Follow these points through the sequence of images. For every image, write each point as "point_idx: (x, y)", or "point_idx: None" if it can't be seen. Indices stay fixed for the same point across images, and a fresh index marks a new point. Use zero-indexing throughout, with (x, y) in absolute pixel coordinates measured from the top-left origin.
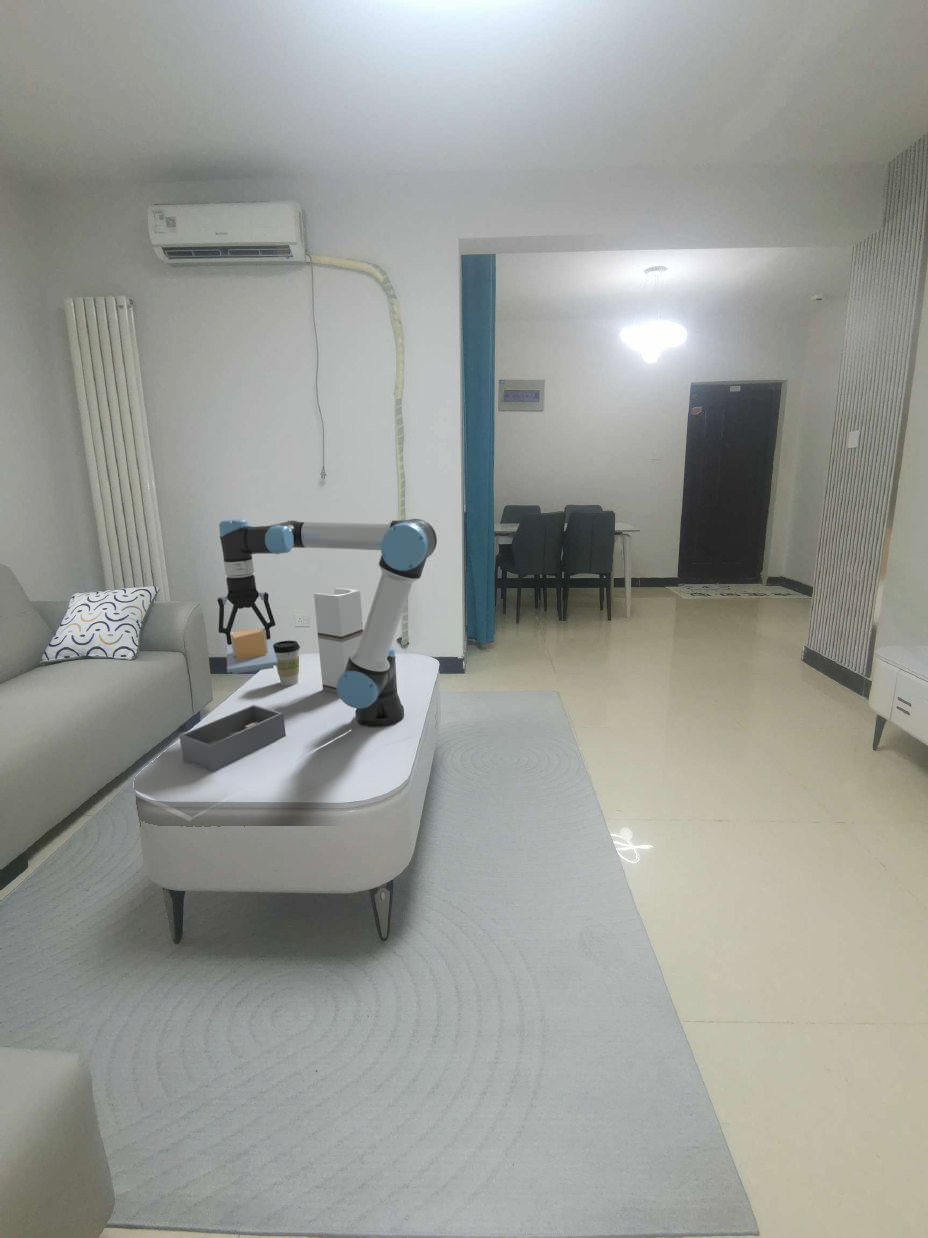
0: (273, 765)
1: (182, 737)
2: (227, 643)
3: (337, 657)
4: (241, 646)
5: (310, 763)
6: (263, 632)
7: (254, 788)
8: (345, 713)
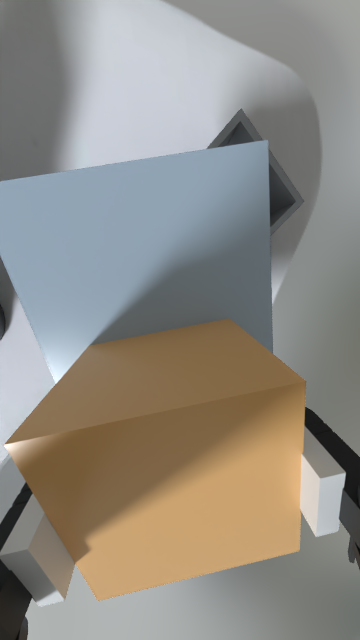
0: (123, 155)
1: (297, 193)
2: (311, 410)
3: (7, 493)
4: (216, 352)
5: (53, 140)
6: (39, 517)
7: (142, 57)
8: (31, 344)
